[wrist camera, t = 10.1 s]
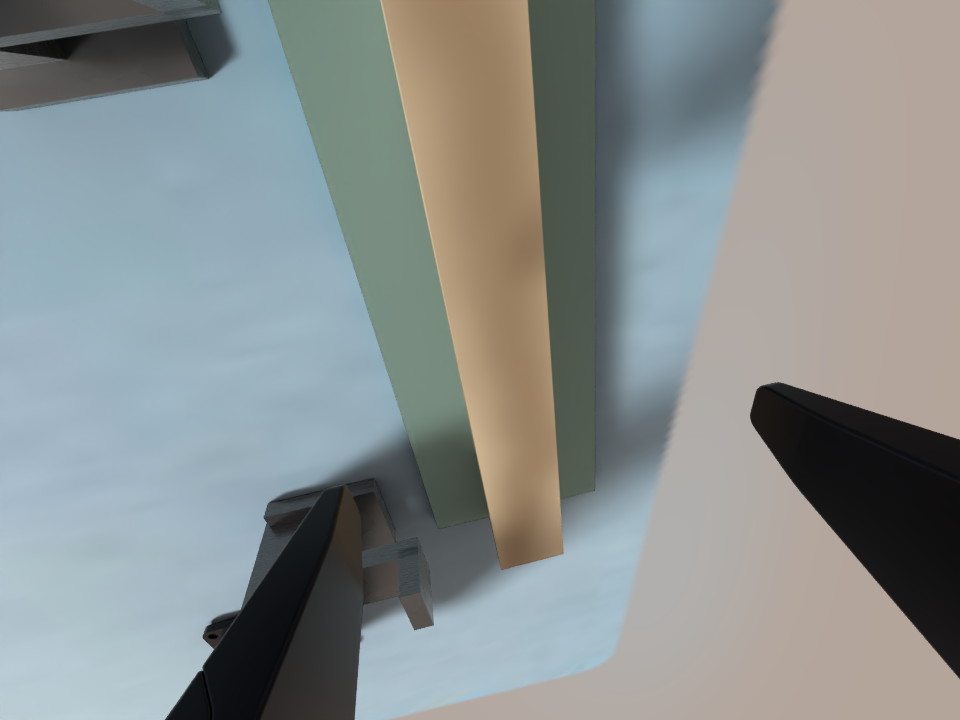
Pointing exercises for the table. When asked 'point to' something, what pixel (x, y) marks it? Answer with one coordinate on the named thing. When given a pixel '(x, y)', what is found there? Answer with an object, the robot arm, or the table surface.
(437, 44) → the rail
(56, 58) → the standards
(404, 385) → the mat
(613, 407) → the table surface
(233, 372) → the table surface
